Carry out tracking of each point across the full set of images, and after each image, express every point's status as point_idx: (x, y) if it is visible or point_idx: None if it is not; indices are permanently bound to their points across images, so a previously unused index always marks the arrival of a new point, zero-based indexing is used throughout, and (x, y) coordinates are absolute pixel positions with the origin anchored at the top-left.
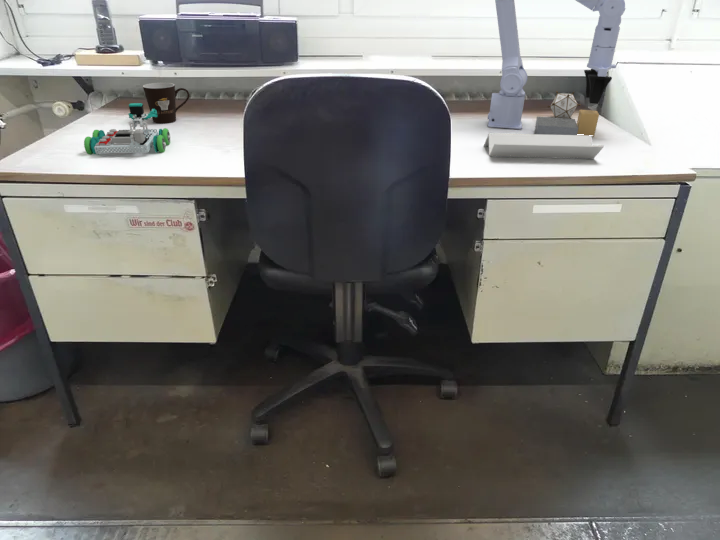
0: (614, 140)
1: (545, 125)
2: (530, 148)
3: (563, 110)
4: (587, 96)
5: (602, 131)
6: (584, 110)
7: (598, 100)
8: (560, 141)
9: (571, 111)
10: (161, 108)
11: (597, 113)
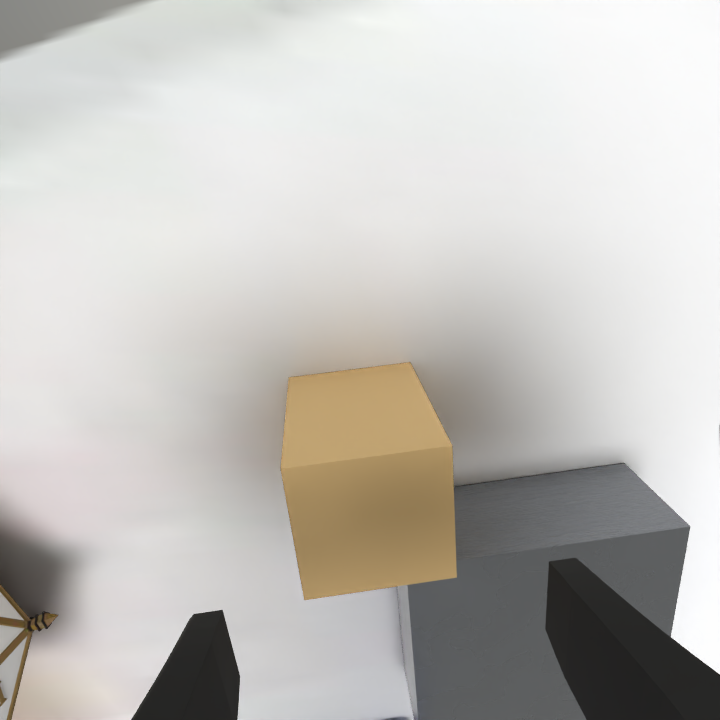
0: (482, 220)
1: None
2: None
3: (25, 647)
4: (234, 682)
5: (225, 303)
6: (324, 564)
7: (601, 589)
8: None
9: None
10: None
11: (417, 460)
